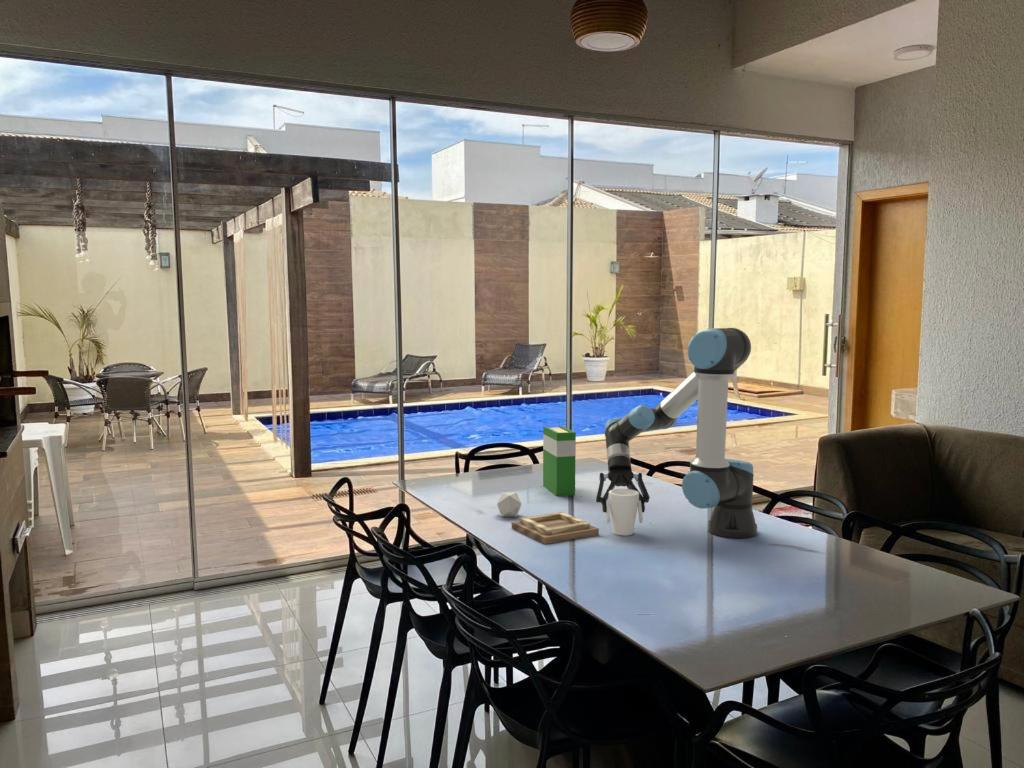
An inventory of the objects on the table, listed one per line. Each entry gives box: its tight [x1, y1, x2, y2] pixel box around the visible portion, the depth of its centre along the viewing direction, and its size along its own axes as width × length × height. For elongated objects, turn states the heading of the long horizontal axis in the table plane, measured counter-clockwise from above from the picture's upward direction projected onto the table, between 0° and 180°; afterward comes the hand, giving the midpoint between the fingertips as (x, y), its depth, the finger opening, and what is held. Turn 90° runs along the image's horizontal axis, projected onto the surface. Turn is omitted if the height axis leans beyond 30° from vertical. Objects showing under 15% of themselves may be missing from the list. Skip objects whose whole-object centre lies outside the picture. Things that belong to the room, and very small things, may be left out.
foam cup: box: [608, 488, 640, 536], centre depth 252 cm, size 10×9×13 cm
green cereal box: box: [542, 425, 577, 497], centre depth 310 cm, size 18×7×24 cm, turn 14°
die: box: [496, 492, 522, 518], centre depth 274 cm, size 8×9×10 cm
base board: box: [511, 511, 600, 545], centre depth 254 cm, size 20×20×4 cm
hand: (624, 520), depth 250 cm, fingers closed on foam cup, 9 cm apart
